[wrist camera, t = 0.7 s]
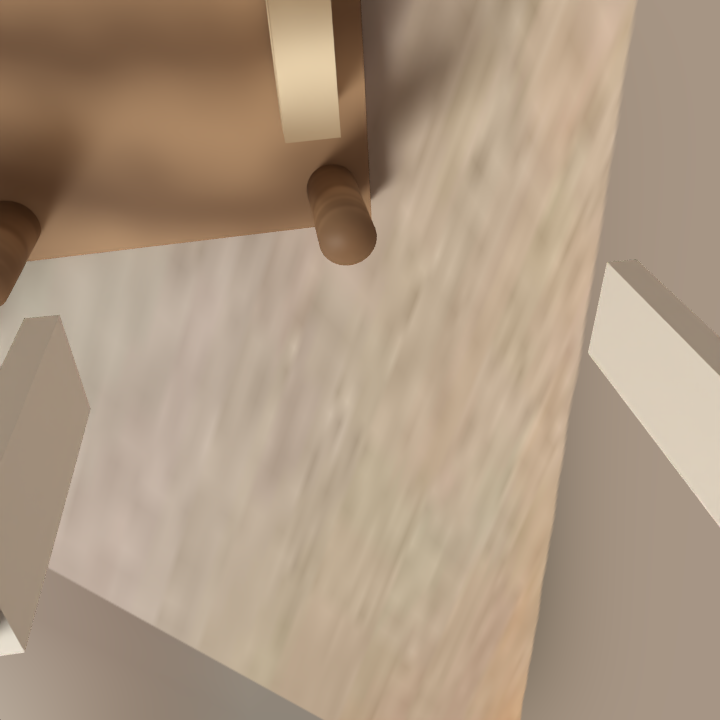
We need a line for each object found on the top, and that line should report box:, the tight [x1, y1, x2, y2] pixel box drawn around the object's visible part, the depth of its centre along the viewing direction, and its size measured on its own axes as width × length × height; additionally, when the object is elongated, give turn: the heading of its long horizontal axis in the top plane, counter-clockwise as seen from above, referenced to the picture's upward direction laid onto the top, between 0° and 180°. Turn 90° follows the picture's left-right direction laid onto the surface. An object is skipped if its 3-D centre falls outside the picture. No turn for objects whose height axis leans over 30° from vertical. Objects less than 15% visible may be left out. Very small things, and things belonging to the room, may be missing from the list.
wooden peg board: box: [0, 0, 377, 306], centre depth 28 cm, size 20×20×8 cm
